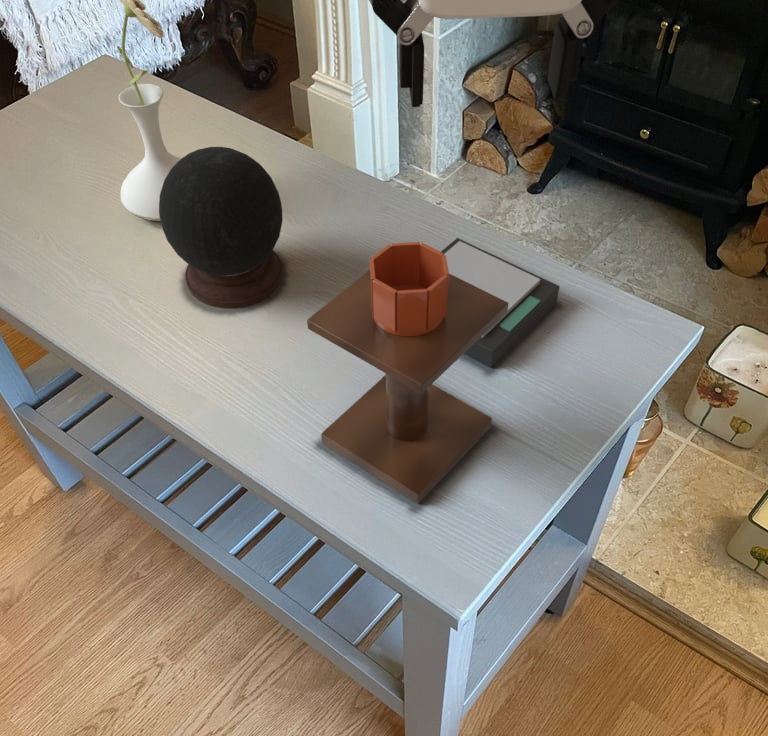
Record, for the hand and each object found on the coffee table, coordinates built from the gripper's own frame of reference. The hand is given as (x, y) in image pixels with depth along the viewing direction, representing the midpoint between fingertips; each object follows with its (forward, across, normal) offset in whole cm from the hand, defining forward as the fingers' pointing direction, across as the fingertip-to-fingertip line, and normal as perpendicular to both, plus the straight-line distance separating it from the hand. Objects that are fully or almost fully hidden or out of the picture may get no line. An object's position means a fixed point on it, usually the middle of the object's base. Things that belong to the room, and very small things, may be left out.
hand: (485, 93), depth 55 cm
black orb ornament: (+33, -24, +23) cm, 47 cm away
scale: (+33, +4, +16) cm, 36 cm away
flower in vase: (+33, -33, +39) cm, 61 cm away
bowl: (+17, -5, -2) cm, 18 cm away
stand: (+33, -5, -2) cm, 33 cm away
